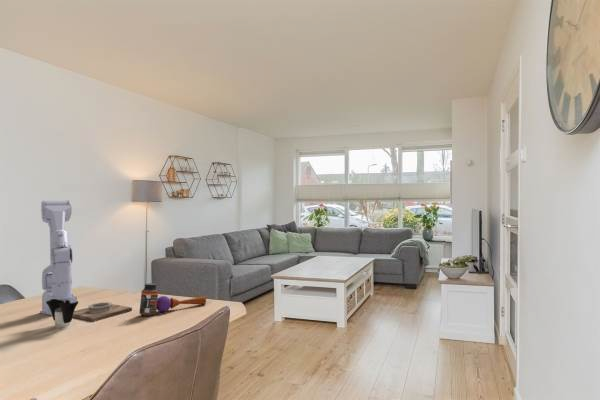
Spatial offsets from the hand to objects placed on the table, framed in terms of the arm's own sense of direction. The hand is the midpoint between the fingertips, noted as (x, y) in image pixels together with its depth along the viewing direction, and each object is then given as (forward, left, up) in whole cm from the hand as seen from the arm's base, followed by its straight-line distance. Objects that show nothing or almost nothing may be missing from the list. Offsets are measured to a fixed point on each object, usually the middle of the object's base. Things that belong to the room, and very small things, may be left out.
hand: (62, 321), depth 137 cm
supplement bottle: (+16, +23, -2) cm, 28 cm away
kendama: (+20, +35, -2) cm, 41 cm away
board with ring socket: (-3, +16, -2) cm, 16 cm away
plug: (0, 0, -2) cm, 2 cm away
